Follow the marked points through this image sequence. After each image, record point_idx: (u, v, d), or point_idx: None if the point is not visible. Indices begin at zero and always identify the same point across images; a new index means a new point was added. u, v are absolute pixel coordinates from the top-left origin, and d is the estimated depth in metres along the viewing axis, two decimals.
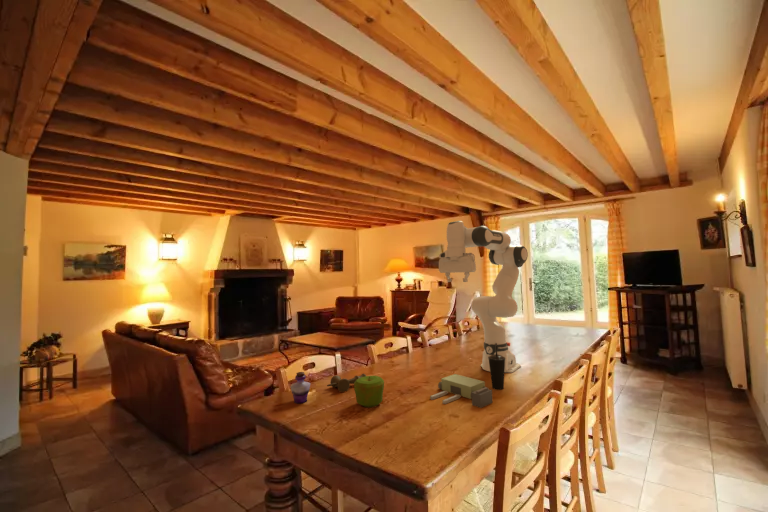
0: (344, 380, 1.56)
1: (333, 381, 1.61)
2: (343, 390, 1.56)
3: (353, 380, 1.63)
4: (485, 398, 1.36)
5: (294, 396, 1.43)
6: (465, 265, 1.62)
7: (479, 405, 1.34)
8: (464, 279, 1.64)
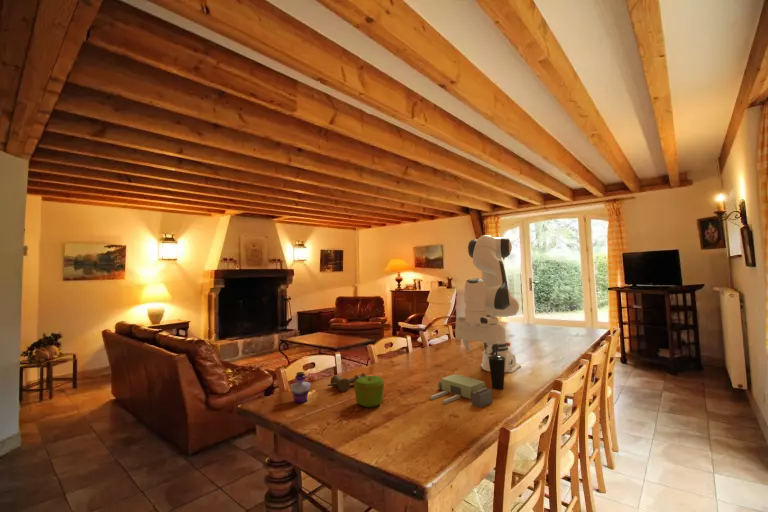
0: (345, 380, 1.57)
1: (333, 380, 1.61)
2: (344, 390, 1.56)
3: (353, 380, 1.63)
4: (485, 398, 1.36)
5: (294, 396, 1.43)
6: None
7: (479, 405, 1.34)
8: None
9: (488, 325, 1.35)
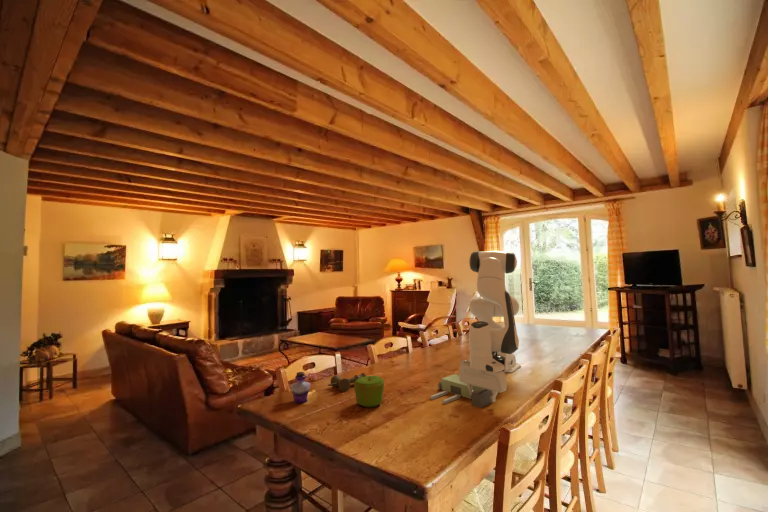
0: (345, 380, 1.57)
1: (333, 380, 1.62)
2: (344, 390, 1.56)
3: (353, 379, 1.63)
4: (485, 398, 1.36)
5: (294, 396, 1.43)
6: None
7: (479, 405, 1.34)
8: None
9: (494, 373, 1.31)
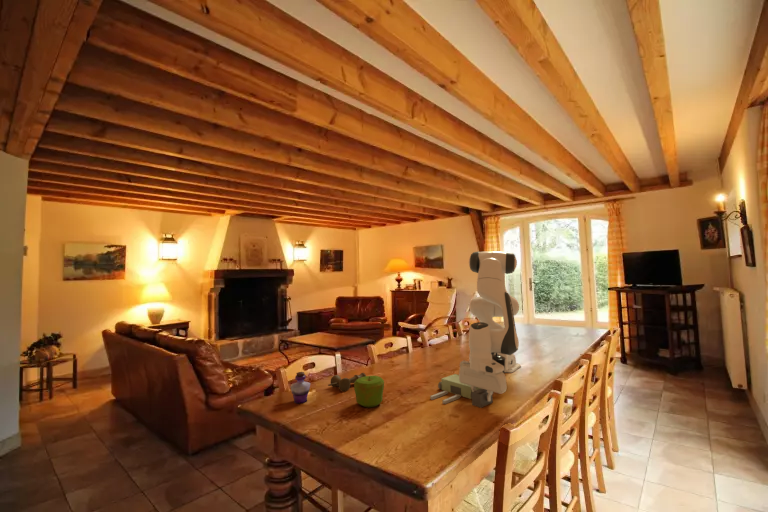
0: (345, 379, 1.57)
1: (333, 380, 1.62)
2: (344, 389, 1.56)
3: (353, 379, 1.64)
4: None
5: (294, 396, 1.43)
6: None
7: (479, 405, 1.34)
8: None
9: (493, 374, 1.31)
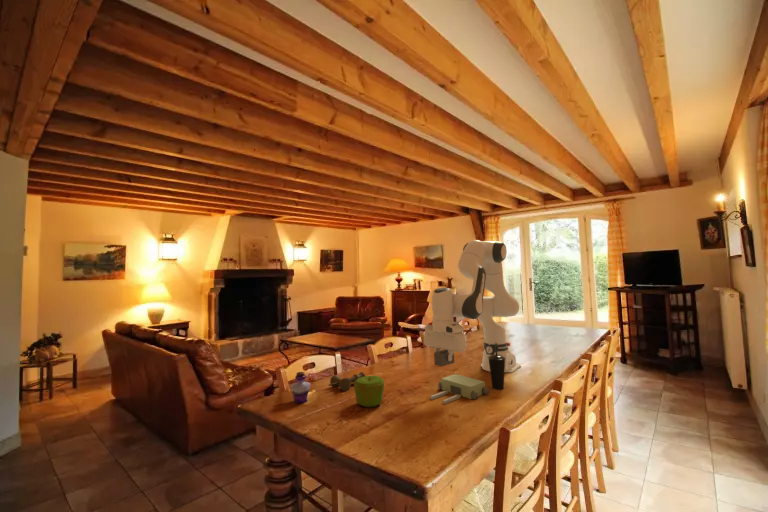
0: (346, 379, 1.58)
1: (333, 380, 1.62)
2: (345, 389, 1.57)
3: (353, 379, 1.65)
4: None
5: (294, 396, 1.43)
6: None
7: (440, 364, 1.42)
8: None
9: (453, 334, 1.39)
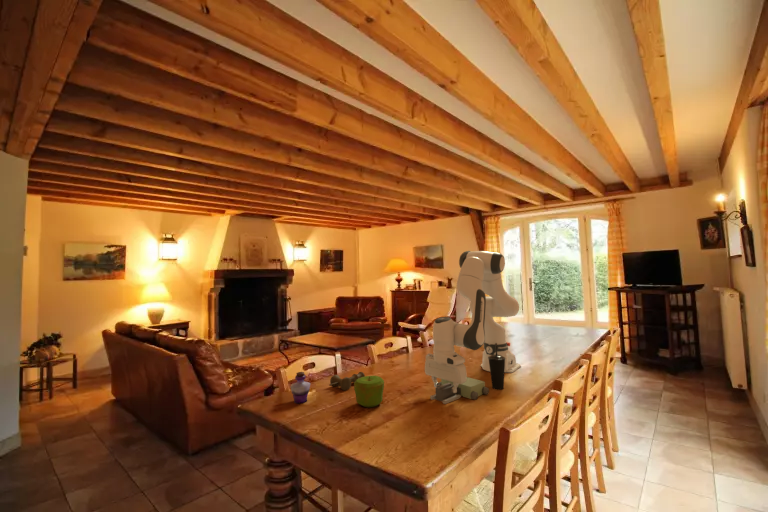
0: (346, 379, 1.58)
1: (333, 380, 1.62)
2: (346, 389, 1.57)
3: (352, 378, 1.65)
4: (448, 393, 1.43)
5: (294, 396, 1.43)
6: None
7: (442, 399, 1.41)
8: None
9: (454, 366, 1.38)
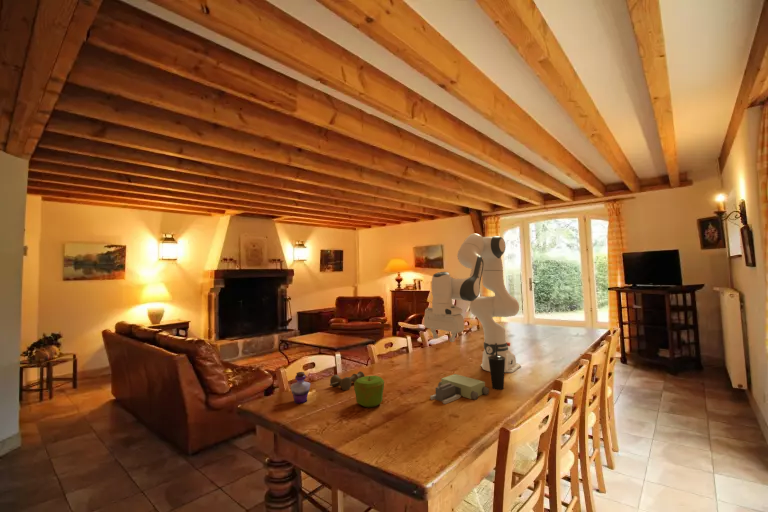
0: (347, 378, 1.59)
1: (333, 380, 1.62)
2: (346, 388, 1.58)
3: (352, 378, 1.66)
4: (448, 393, 1.43)
5: (294, 396, 1.43)
6: None
7: (442, 399, 1.41)
8: None
9: (452, 316, 1.46)
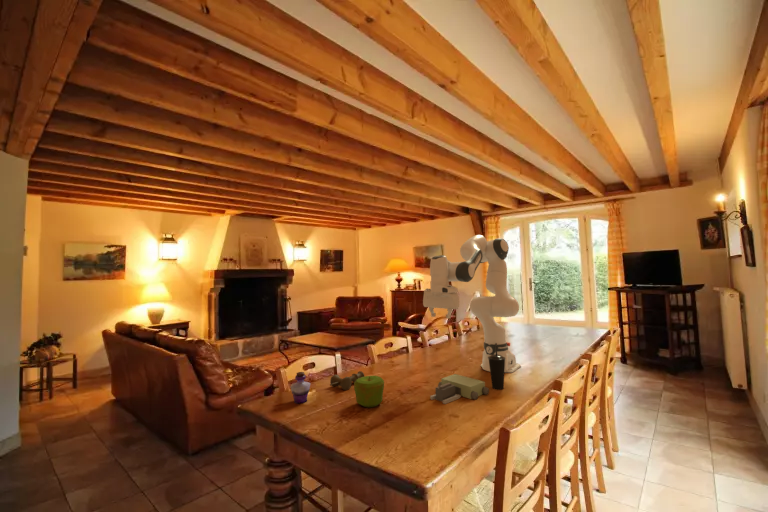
0: (347, 378, 1.59)
1: (333, 380, 1.62)
2: (346, 388, 1.58)
3: (352, 378, 1.66)
4: (448, 393, 1.43)
5: (294, 396, 1.43)
6: None
7: (442, 399, 1.41)
8: None
9: (448, 294, 1.60)
